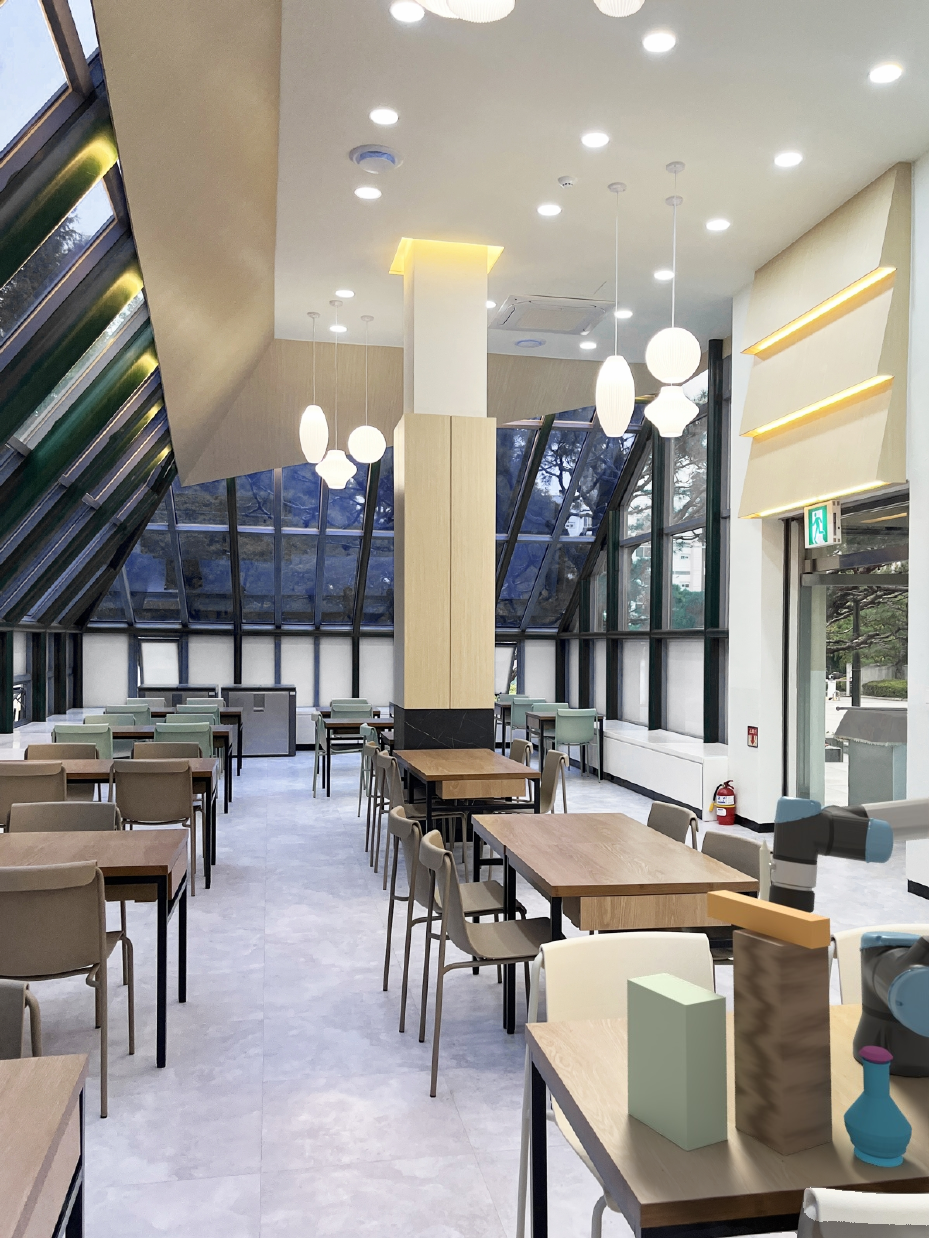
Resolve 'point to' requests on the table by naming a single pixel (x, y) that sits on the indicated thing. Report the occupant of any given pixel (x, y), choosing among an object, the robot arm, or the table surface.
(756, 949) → the post
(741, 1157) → the table surface
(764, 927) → the bar
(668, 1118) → the pale green rectangular block
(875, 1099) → the perfume bottle
